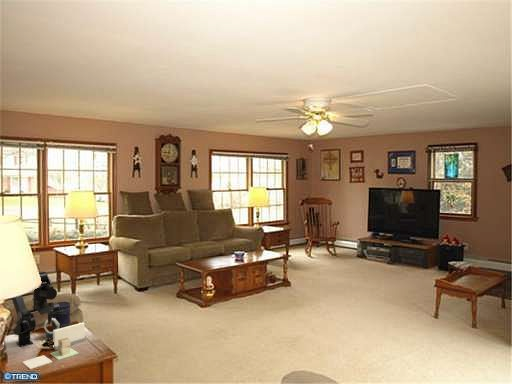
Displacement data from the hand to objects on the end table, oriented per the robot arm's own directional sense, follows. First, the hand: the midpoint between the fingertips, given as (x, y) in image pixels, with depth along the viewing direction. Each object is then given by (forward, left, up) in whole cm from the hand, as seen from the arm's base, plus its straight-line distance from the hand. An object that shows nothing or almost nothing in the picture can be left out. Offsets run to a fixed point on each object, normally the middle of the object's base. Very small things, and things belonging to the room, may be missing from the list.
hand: (39, 326), depth 216 cm
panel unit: (+1, +13, -12) cm, 18 cm away
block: (+15, +6, -12) cm, 20 cm away
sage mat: (+15, +6, -12) cm, 20 cm away
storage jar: (-19, +19, -12) cm, 30 cm away
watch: (-10, +10, -12) cm, 19 cm away
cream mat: (+15, -7, -12) cm, 20 cm away
